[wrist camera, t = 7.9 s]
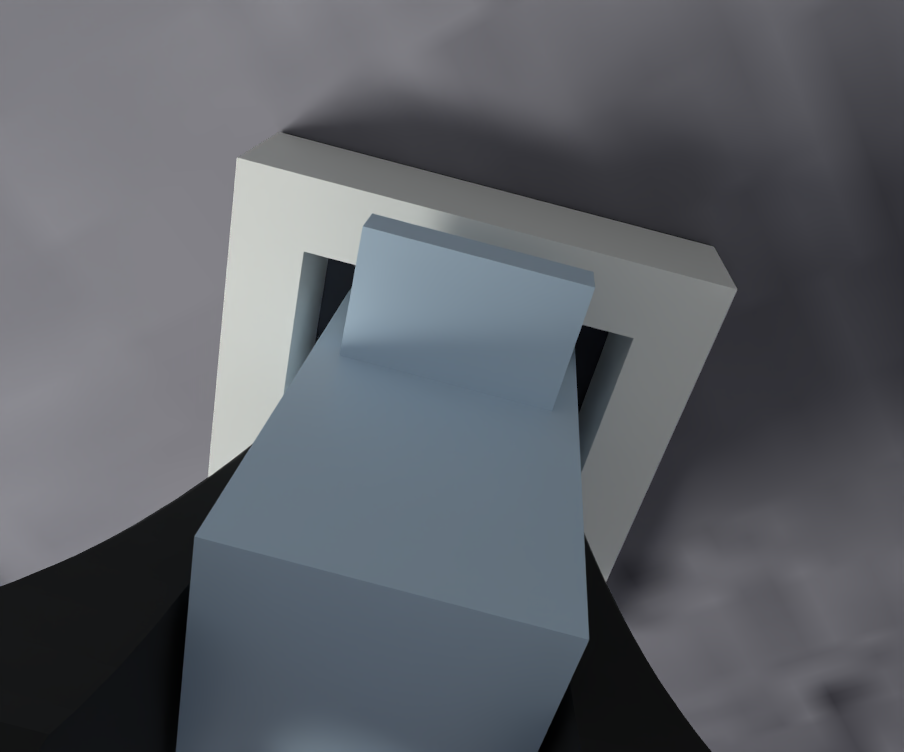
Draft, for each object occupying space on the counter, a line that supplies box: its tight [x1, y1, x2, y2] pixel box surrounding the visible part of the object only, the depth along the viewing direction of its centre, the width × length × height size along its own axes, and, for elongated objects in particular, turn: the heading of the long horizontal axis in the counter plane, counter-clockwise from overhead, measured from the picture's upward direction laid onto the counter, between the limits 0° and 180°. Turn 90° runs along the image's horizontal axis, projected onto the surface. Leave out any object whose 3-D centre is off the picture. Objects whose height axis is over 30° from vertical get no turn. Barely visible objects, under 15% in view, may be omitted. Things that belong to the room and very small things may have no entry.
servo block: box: [176, 213, 595, 752], centre depth 12 cm, size 4×10×8 cm, turn 167°
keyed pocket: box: [208, 132, 738, 582], centre depth 15 cm, size 8×10×2 cm
